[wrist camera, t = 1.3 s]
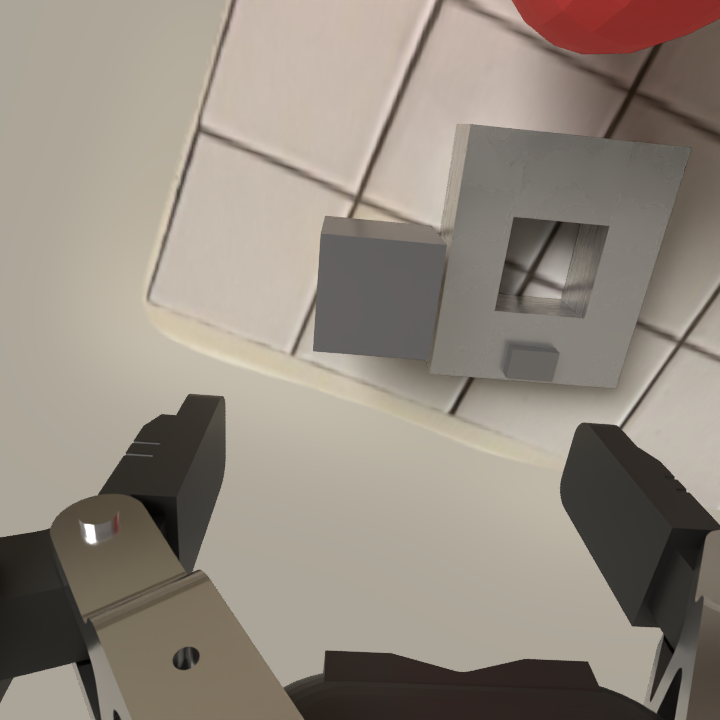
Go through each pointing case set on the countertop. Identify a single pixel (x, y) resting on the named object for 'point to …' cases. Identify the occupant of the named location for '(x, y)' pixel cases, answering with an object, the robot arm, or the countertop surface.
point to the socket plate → (589, 261)
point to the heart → (615, 22)
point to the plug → (377, 288)
